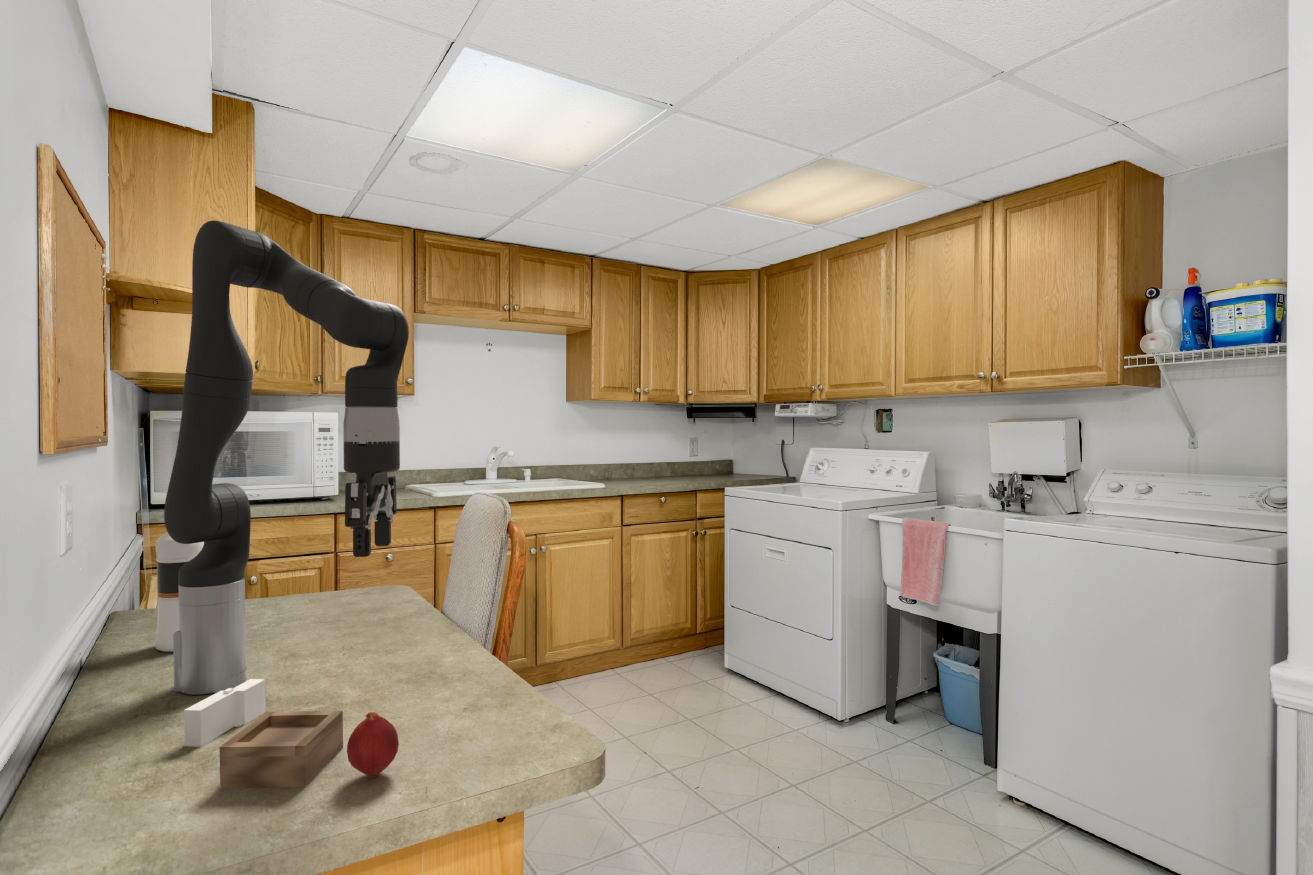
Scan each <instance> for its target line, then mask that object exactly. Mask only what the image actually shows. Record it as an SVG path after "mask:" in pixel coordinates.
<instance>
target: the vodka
mask: <svg viewBox="0 0 1313 875" xmlns="http://www.w3.org/2000/svg"><path fill="white" fill-rule="evenodd" d="M203 545H204V542H199V543H192V544H181V543H178V542H176V541H174V540H173V539H172V538H171V537H170V535H169V534H168V532H167V531H166V532H165V533H164V534H162V535H161V536H159V537H158V538H157V539H156V542H155V547H154V548H155V556H156V557H155V561H156V578H157V579H156V582H157V583H156V586H157V588H156V589H157V595H156V596H157V597H156V599H155V600H156V602H157V604H156V605H157V621H156V633H155V636H154V648H155V649H156V650H158V651H159V652H164V653H173V634H174V633H175V632H176V631H178V630H179V586H178V585H179V584H178V572H179V569H180V568H181V567H182V566H183V565H184V564H186V563H187V562H189V561H190V560H192V559H193V558H194V557H195V556H197V555H198V553H199V552H200V551H201V550H202V548H203Z"/></svg>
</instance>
